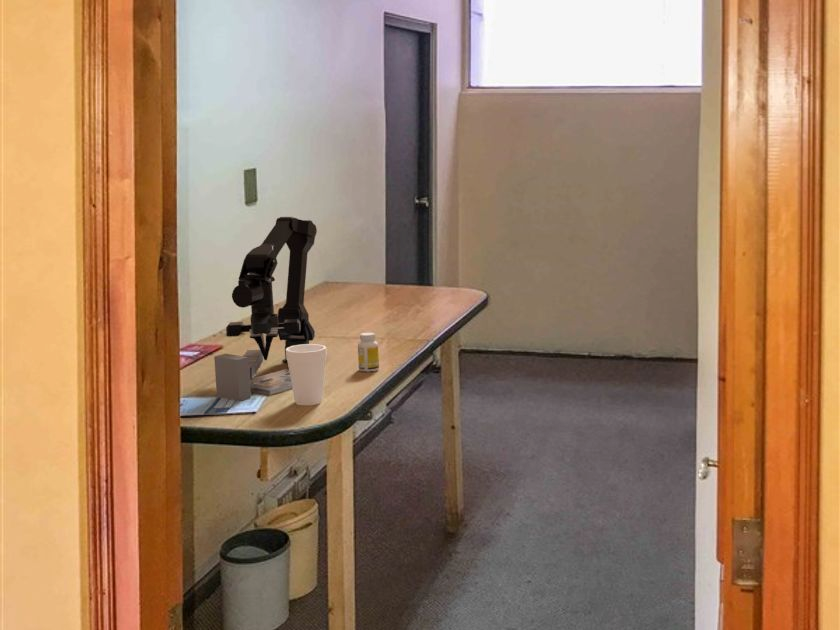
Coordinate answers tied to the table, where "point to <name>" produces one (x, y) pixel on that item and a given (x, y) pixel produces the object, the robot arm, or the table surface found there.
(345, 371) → the table surface
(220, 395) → the post
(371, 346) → the supplement bottle
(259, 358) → the bar
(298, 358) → the foam cup
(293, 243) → the robot arm
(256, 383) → the panel
